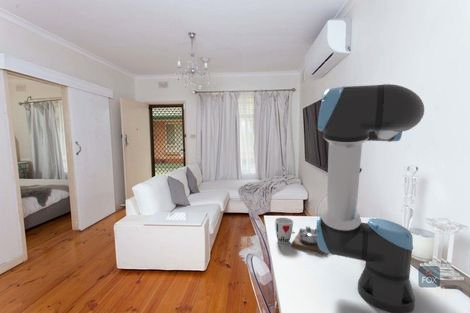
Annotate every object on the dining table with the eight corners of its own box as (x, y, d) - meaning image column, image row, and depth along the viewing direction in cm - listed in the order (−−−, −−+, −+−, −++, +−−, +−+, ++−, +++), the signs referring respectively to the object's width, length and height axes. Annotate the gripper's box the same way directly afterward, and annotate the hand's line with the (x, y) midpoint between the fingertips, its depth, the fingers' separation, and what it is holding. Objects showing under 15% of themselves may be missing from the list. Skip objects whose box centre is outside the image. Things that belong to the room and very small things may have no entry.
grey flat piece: (312, 247, 102) (313, 238, 102) (293, 238, 112) (293, 229, 111) (340, 237, 113) (341, 229, 112) (321, 229, 122) (321, 221, 121)
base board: (324, 255, 101) (325, 250, 100) (291, 247, 107) (291, 242, 107) (329, 241, 113) (329, 237, 113) (299, 235, 119) (299, 231, 119)
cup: (272, 242, 111) (272, 221, 110) (277, 236, 118) (278, 216, 117) (289, 246, 108) (290, 225, 107) (294, 239, 115) (294, 219, 114)
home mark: (294, 232, 123) (294, 232, 123) (291, 233, 122) (291, 232, 122) (289, 229, 127) (289, 229, 126) (287, 230, 126) (287, 229, 126)
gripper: (366, 153, 109) (362, 203, 112) (329, 151, 117) (326, 199, 119) (366, 154, 103) (362, 208, 105) (327, 152, 110) (324, 202, 112)
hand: (343, 203), depth 112 cm, fingers open, 3 cm apart
